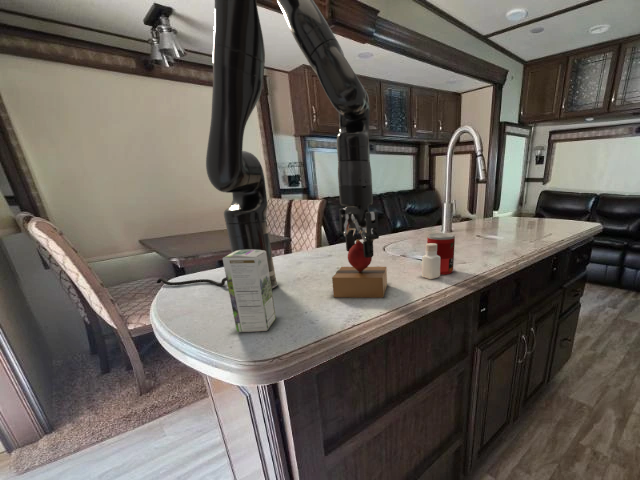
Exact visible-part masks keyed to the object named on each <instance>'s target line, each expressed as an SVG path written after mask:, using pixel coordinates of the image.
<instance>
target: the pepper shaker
mask: <svg viewBox="0 0 640 480" xmlns="http://www.w3.org/2000/svg"><path fill="white" fill-rule="evenodd" d="M440 276H441V275H440V256H438V255H437V244H435V243H428V244H427V243H426V244H425V254H424V255H422V257H421V277H422V278H425V279H429V280H434V279H437V278H439V277H440Z"/></svg>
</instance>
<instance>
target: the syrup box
mask: <svg viewBox="0 0 640 480" xmlns="http://www.w3.org/2000/svg"><path fill="white" fill-rule="evenodd" d="M222 263H223V269H224V273H225V278H226V279H227V281H226V284H227V290H228V294H229V299H230V304H231V309H232V314H233V319H234V324H235V329H236V332H237V333H252V332H266V331H269V329H270V328H271V326H272V325H273V323H274V322H275V321H276V319H277V315H276V309H275V308H276V307H275V303H274V296H273V295H274V294H273V289H272V288H271V281H270V275H269V268H268V261H267V255H266V251H264V250H238V251H235V252H233V253H232V252H231V253H229V254H227V255H225V256H223V257H222Z"/></svg>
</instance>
